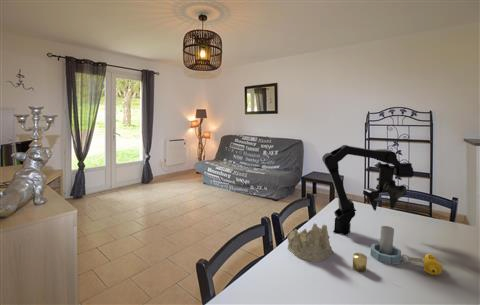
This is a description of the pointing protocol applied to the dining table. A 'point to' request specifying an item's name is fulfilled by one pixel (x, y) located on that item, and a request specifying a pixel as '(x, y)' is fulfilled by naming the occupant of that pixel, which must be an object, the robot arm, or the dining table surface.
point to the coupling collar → (386, 258)
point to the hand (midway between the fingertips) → (383, 209)
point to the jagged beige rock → (310, 243)
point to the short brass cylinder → (359, 262)
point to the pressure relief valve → (427, 263)
